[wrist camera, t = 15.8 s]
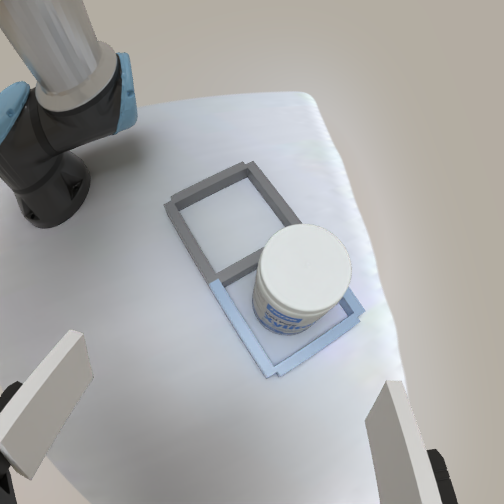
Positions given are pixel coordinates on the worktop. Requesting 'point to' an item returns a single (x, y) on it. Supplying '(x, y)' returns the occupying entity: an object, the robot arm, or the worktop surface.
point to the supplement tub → (299, 278)
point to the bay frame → (250, 264)
